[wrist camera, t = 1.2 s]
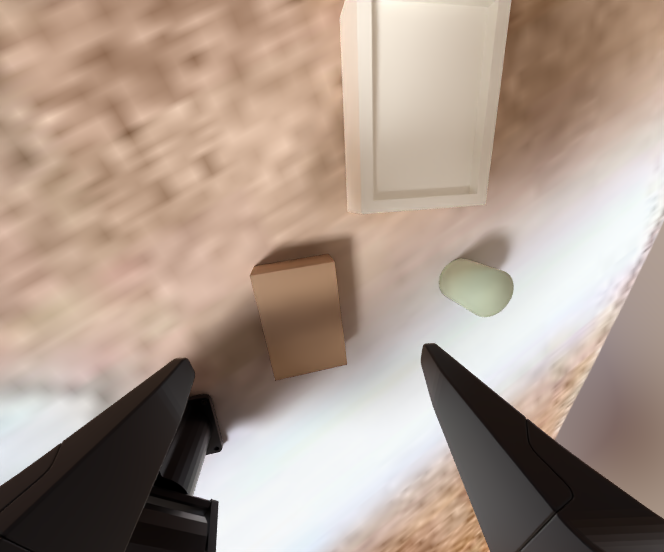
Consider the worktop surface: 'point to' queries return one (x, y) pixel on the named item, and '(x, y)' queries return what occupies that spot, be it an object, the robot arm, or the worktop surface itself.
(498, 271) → the knob
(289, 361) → the lid
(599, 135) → the worktop surface
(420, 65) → the box base
